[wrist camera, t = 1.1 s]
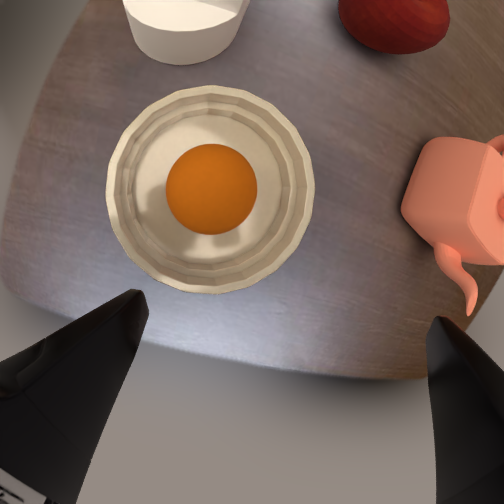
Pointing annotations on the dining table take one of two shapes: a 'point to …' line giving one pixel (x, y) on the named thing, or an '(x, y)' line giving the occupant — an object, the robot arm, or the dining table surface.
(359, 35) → the apple
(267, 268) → the bowl
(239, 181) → the orange
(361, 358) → the dining table surface
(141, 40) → the cylinder with rectangular tab
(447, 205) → the teapot
